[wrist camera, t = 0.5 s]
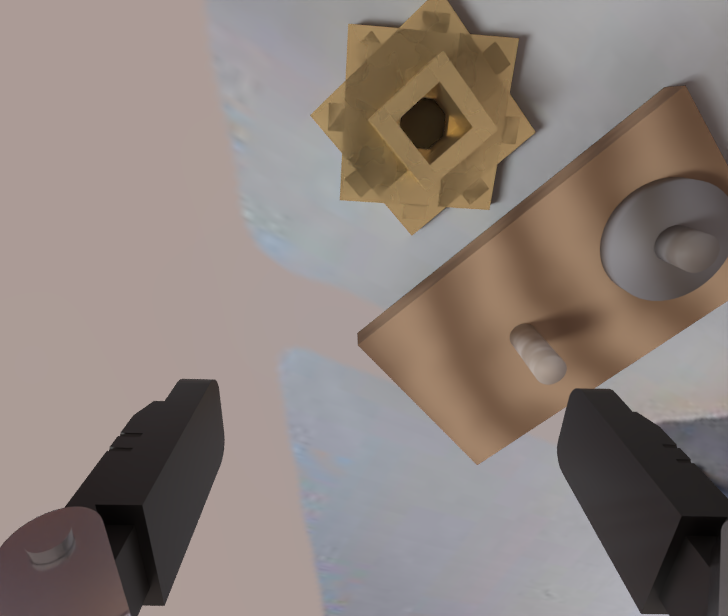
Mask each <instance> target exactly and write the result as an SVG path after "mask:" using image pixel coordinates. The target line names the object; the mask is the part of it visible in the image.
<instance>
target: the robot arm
mask: <svg viewBox="0 0 728 616" xmlns="http://www.w3.org/2000/svg"><path fill="white" fill-rule="evenodd" d="M223 452H224V429H223V419H222V411H221V403H220V394H219V386H218V383H217V381H216V380H207V379H206V380H205V379H180V380H179V381H178V382H177V384H176V385H175V387H174V388H173V390H172V391H171V393H170V394H169V396H168V397H167V398H166V400H165V401H153V402H152V403H151V404H149V405H148V406H146V407H145V408H143V409H142V410H140V411H139V412H138V413H136V414H135V415H134V416H133V417H132V418H131V419H130V421H129V422H128V423H127V425H126V426H125V428H124V429H123V430H122V432H121V434H120V436H118V437H117V438H116V439H115V441H114V442H113V444H112V445H111V446H110V450H109V451H107V452H106V453H105V454H104V455H103V457H102V458H101V460H100V461H99V462H98V463H97V465H96V466H95V467H94V469H93V470H92V471H91V473H90V474H89V475H88V477H87V478H86V480H85V481H84V482H83V484H82V485H81V486H80V488H79V489H78V490H77V492H76V493H75V494H74V496H73V497H72V498H71V500H70V501H69V502H68V504H67V505H66V506H65V508H61V509H57V510H53V511H51V512H48V513H45V514H43V515H41V516H38V517H36V518H35V519H33V520H31V521H29V522H28V523H26V524H25V525H23V526H22V527H20V528H19V529H18V530H16V531H15V532H14V533H13V534H12V535H11V536H10V537H9V538H8V539H7V540H6V541H5V542H4V543H3V544H2V546H1V547H0V616H138V614H139V612H140V609H141V607H142V605H150V606H164V605H165V603H166V601H167V598H168V596H169V593H170V591H171V588H172V585H173V583H174V580H175V578H176V575H177V573H178V570H179V568H180V565H181V563H182V560H183V558H184V555H185V553H186V550H187V547H188V545H189V543H190V540H191V537H192V535H193V533H194V530H195V528H196V525H197V523H198V520H199V518H200V515H201V513H202V510H203V507H204V505H205V502H206V500H207V497H208V495H209V492H210V490H211V487H212V485H213V482H214V480H215V477H216V475H217V472H218V470H219V467H220V464H221V461H222V457H223ZM557 456H558V462H559V466H560V469H561V471H562V473H563V475H564V477H565V478H566V480H567V482H568V484H569V486H570V487H571V489H572V491H573V493H574V494H575V496H576V498H577V500H578V502H579V503H580V505H581V507H582V509H583V511H584V512H585V514H586V516H587V518H588V520H589V521H590V523H591V525H592V527H593V529H594V530H595V532H596V534H597V536H598V538H599V539H600V541H601V543H602V545H603V546H604V548H605V550H606V552H607V554H608V555H609V557H610V559H611V561H612V563H613V564H614V566H615V568H616V570H617V572H618V573H619V575H620V577H621V579H622V581H623V582H624V584H625V586H626V588H627V589H628V591H629V593H630V595H631V597H632V598H633V600H634V602H635V604H636V606H637V607H638V609H639V611H640V613H641V614H669V616H728V498H727V497H726V496H725V495H724V494H723V493H722V492H721V491H720V490H719V489H718V488H717V487H716V486H715V485H714V484H713V483H712V481H711V480H710V479H709V478H708V477H707V476H706V475H705V474H704V473H703V472H702V471H701V470H700V469H699V468H698V467H697V466H696V465H695V464H694V463H691V459H690V458H689V457H688V456H687V455H686V454H685V453H684V452H683V451H682V450H681V449H680V448H677V446H676V443H675V442H674V441H673V440H672V439H671V438H670V437H669V436H668V435H667V434H666V433H665V432H664V431H663V430H662V429H661V428H660V427H659V426H658V425H656V424H654V423H653V422H651V421H650V420H648V419H647V418H645V417H644V416H642V415H640V414H639V413H637V412H632V411H631V410H630V408H629V407H628V406H627V405H626V404H625V403H624V402H623V401H622V400H621V398H620V397H619V396H618V395H617V394H616V393H615V392H614V391H613V390H611V389H587V388H576V389H574V390H572V392H571V393H570V396H569V399H568V403H567V407H566V411H565V415H564V420H563V423H562V428H561V432H560V436H559V440H558V445H557Z"/></svg>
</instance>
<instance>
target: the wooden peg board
mask: <svg viewBox="0 0 728 616" xmlns="http://www.w3.org/2000/svg"><path fill="white" fill-rule="evenodd" d="M727 301H728V165H727V164H726V162H725V160H724V158H723V156H722V154H721V152H720V150H719V148H718V146H717V145H716V143H715V141H714V139H713V137H712V135H711V133H710V131H709V129H708V127H707V125H706V124H705V122H704V120H703V118H702V116H701V114H700V112H699V110H698V108H697V106H696V105H695V103H694V101H693V99H692V97H691V95H690V93H689V91H688V89H687V87H686V85H685V86H675V87H665V88H663V89H662V90H661V91H659V92H658V93H657V94H656V95H654V96H653V97H652V98H651V99H649V100H648V101H647V102H646V103H644V104H643V105H642V106H641V107H639V108H638V109H637V110H636V111H634V112H633V113H632V114H631V115H629V116H628V117H627V118H626V119H624V120H623V121H622V122H621V123H619V124H618V125H617V126H616V127H614V128H613V129H612V130H611V131H609V132H608V133H607V134H606V135H604V136H603V137H602V138H601V139H599V140H598V141H597V142H596V143H594V144H593V145H592V146H591V147H589V148H588V149H587V150H586V151H584V152H583V153H582V154H581V155H579V156H578V157H577V158H576V159H574V160H573V161H572V162H571V163H569V164H568V165H567V166H566V167H564V168H563V169H562V170H561V171H559V172H558V173H557V174H556V175H554V176H553V177H552V178H551V179H549V180H548V181H547V182H546V183H544V184H543V185H542V186H541V187H539V188H538V189H537V190H536V191H534V192H533V193H532V194H531V195H529V196H528V197H527V198H526V199H524V200H523V201H522V202H521V203H519V204H518V205H517V206H516V207H514V208H513V209H512V210H511V211H509V212H508V213H507V214H506V215H504V216H503V217H502V218H501V219H499V220H498V221H497V222H496V223H494V224H493V225H492V226H491V227H489V228H488V229H487V230H486V231H484V232H483V233H482V234H481V235H479V236H478V237H477V238H476V239H474V240H473V241H472V242H471V243H469V244H468V245H467V246H466V247H464V248H463V249H462V250H461V251H459V252H458V253H457V254H456V255H454V256H453V257H452V258H451V259H449V260H448V261H447V262H446V263H444V264H443V265H442V266H441V267H439V268H438V269H437V270H436V271H434V272H433V273H432V274H431V275H429V276H428V277H427V278H426V279H424V280H423V281H422V282H421V283H419V284H418V285H417V286H416V287H414V288H413V289H412V290H411V291H409V292H408V293H407V294H406V295H404V296H403V297H402V298H401V299H399V300H398V301H397V302H396V303H394V304H393V305H392V306H391V307H389V308H388V309H387V310H386V311H384V312H383V313H382V314H381V315H380V316H378V317H377V318H376V319H375V320H373V321H372V322H371V323H369V324H368V325H367V326H366V327H365V328H363V329H362V330H361V331H359V332H358V333H357V334H358V346H359V347H360V348H361V349H362V350H363V351H364V352H365V353H366V354H367V355H368V356H369V357H370V358H371V359H372V360H373V361H374V362H375V363H376V364H377V365H378V366H379V367H380V368H381V369H382V370H383V371H384V372H385V373H386V374H387V375H388V376H389V377H390V378H391V379H392V380H393V381H394V382H395V383H396V384H397V385H398V386H399V387H400V388H401V389H402V390H403V391H404V392H405V393H406V394H407V395H408V396H409V397H410V398H411V399H412V400H413V401H414V402H415V403H416V404H417V405H418V406H419V407H420V408H421V409H422V410H423V411H424V412H425V413H426V414H427V415H428V416H429V417H430V418H431V419H432V420H433V421H434V422H435V423H436V424H437V425H438V426H439V427H440V428H441V429H442V430H443V431H444V432H445V433H446V434H447V435H448V436H449V437H450V438H451V439H452V440H453V441H454V442H455V443H456V444H457V445H458V446H459V447H460V448H461V449H462V450H463V451H464V452H465V453H466V454H467V455H468V456H469V457H470V458H471V459H472V460H473V461H474V462H475V463H476V464H477V465H478V464H480V463H481V462H483V461H484V460H486V459H487V458H489V457H490V456H492V455H493V454H495V453H496V452H498V451H499V450H501V449H502V448H504V447H506V446H507V445H509V444H510V443H512V442H513V441H515V440H516V439H518V438H519V437H521V436H522V435H524V434H525V433H527V432H528V431H530V430H531V429H533V428H534V427H536V426H537V425H539V424H541V423H542V422H544V421H545V420H547V419H548V418H550V417H551V416H553V415H554V414H556V413H557V412H559V411H560V410H562V409H563V408H565V407H567V403H568V399H569V396H570V393H571V392H572V390H574V389H576V388H587V389H594V388H596V387H597V386H599V385H600V384H602V383H603V382H605V381H606V380H608V379H609V378H611V377H612V376H614V375H615V374H617V373H618V372H620V371H621V370H623V369H624V368H626V367H628V366H629V365H631V364H632V363H634V362H635V361H637V360H638V359H640V358H641V357H643V356H644V355H646V354H647V353H649V352H650V351H652V350H653V349H655V348H656V347H658V346H660V345H661V344H663V343H664V342H666V341H667V340H669V339H670V338H672V337H673V336H675V335H676V334H678V333H679V332H681V331H682V330H684V329H685V328H687V327H689V326H690V325H692V324H693V323H695V322H696V321H698V320H699V319H701V318H702V317H704V316H705V315H707V314H708V313H710V312H711V311H713V310H714V309H716V308H717V307H719V306H721V305H722V304H724V303H725V302H727Z"/></svg>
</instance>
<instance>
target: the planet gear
mask: <svg viewBox="0 0 728 616" xmlns="http://www.w3.org/2000/svg"><path fill="white" fill-rule="evenodd" d="M518 42H519V38H509V37H498V36H486V35H474V34H469V32H468V31H467V29H466V28H465V26H464V25H463V23H462V22H461V20H460V19H459V17H458V16H457V14H456V13H455V11H454V10H453V8H452V7H451V5H450V4H449V2H448V1H447V0H427V1H426V2H425V3H424V4H423V5H422V6H421V7H420V8H419V9H418V10H417V11H416V12H415V13H414V14H413V15H412V16H411V17H410V18H409V19H408V20H407V21H406V22H405V23H404V24H403V25H402V26H401V27H400V28H392V27H380V26H368V25H356V24H348V43H347V64H346V81H345V82H344V83H343V84H342V85H341V86H340V87H339V88H338V89H337V90H336V91H335V92H334V93H333V94H331V95H330V96H329V97H328V98H327V99H326V100H325V101H324V102H323V103H322V104H321V105H320V106H319V107H318V108H317V109H316V110H315V111H314V112H313V113H312V114H311V115H310V116H311V117H312V118H313V119H314V121H315V122H316V123H317V124H318V125H319V126H320V128H321V129H322V130H323V131H324V132H325V134H326V135H327V136H328V137H329V138H330V139H331V141H332V142H333V143H334V144H335V145H336V147H337V148H338V149H339V150H340V151H341V152H342V168H341V189H340V200H347V201H362V202H377V203H385V204H386V206H387V207H388V208H389V209H390V210H391V212H392V213H393V214H394V215H395V216H396V217H397V219H398V220H399V221H400V222H401V223H402V225H403V226H404V227H405V228H406V229H407V230H408V232H409V233H410V234H411V235H413V234H414V233H416V232H417V231H418V230H419V229H420V228H422V227H423V226H424V225H425V224H426V223H428V222H429V221H430V220H431V219H432V218H434V217H435V216H436V215H437V214H438V213H440V212H441V211H442V210H443V209H444V208H446V207H454V208H469V209H484V210H489V209H490V203H491V197H492V192H493V186H494V180H495V174H496V169H497V164H498V163H499V162H501V161H502V160H503V159H504V158H505V157H507V156H508V155H509V154H510V153H511V152H512V151H514V150H515V149H516V148H517V147H518V146H520V145H521V144H522V143H523V142H524V141H526V140H527V139H528V138H529V137H530V136H532V135H533V134H534V133H535V131H534V129H533V128H532V126H531V125H530V123H529V122H528V120H527V119H526V117H525V116H524V114H523V113H522V111H521V110H520V108H519V107H518V105H517V104H516V102H515V101H514V99H513V98H512V96H511V95H510V88H511V82H512V76H513V71H514V65H515V59H516V53H517V47H518ZM421 98H428V99H434V100H435V101H436V102H437V104H438V105H439V106H440V108H441V109H442V111H443V112H444V113H445V115H446V117H445V125H444V133H443V136H442V137H441V138H440V139H439V140H438V141H437V142H435V143H434V144H433V145H432V146H431V147H430V148H429V149H423V148H416V147H415V146H414V144H413V143H412V142H411V141H410V139H409V138H408V137H407V135H406V134H405V133H404V132H403V130H402V129H401V128H400V120H401V117H402V116H403V115H404V114H405V113H406V112H407V111H408V110H409V109H410V108H411V107H413V106H414V105H415V104H416V103H417V102H418V101H419V100H420V99H421Z"/></svg>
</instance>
